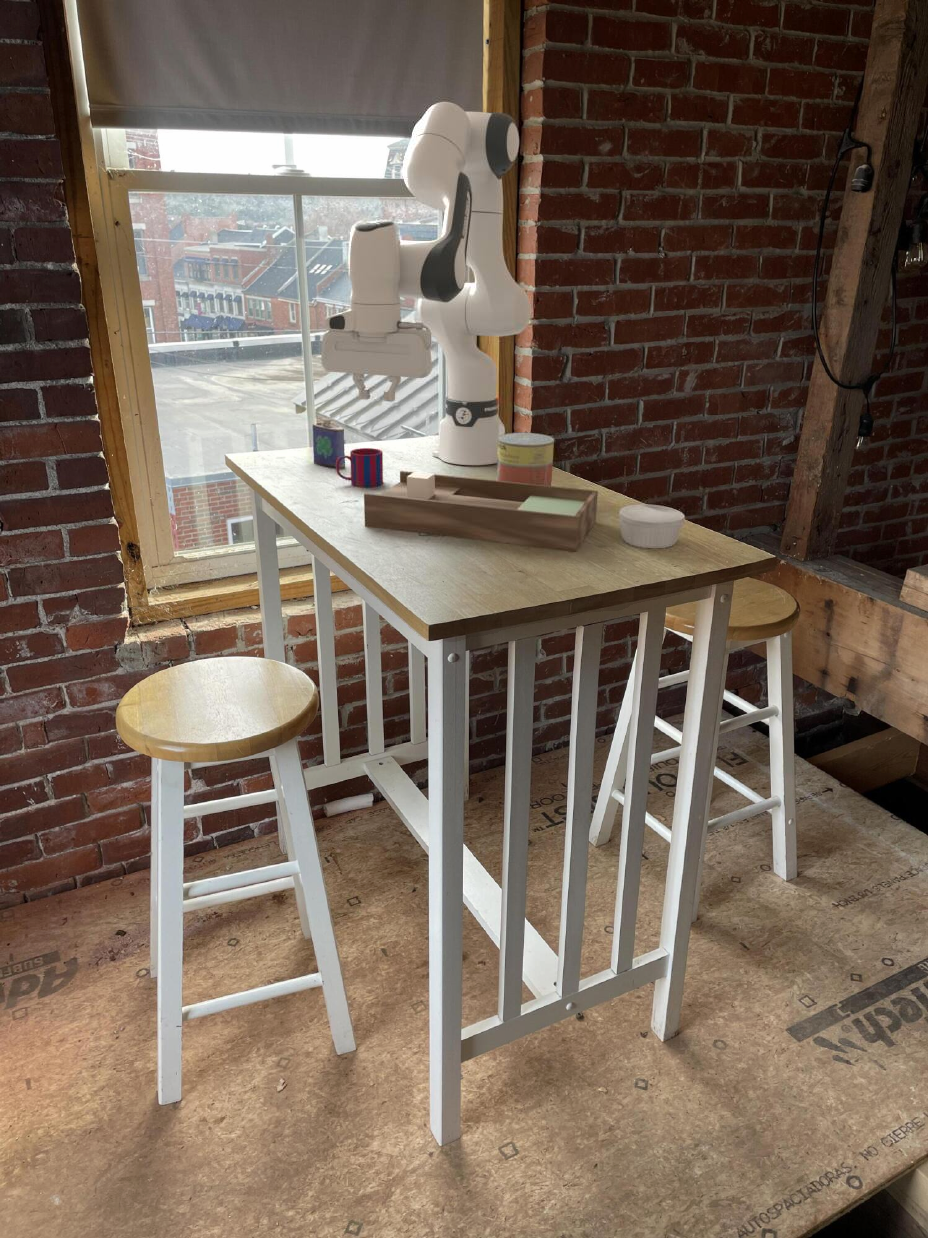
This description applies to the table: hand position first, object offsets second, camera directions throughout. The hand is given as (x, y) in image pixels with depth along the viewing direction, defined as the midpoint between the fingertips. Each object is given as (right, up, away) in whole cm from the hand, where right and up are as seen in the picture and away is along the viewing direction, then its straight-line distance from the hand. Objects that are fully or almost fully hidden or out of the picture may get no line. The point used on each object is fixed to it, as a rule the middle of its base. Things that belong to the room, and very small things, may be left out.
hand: (377, 399), depth 165 cm
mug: (-6, -11, +27) cm, 30 cm away
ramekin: (+49, -26, -4) cm, 55 cm away
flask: (-15, -5, +41) cm, 44 cm away
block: (+8, -17, +4) cm, 19 cm away
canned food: (+28, -15, +20) cm, 38 cm away
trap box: (+19, -22, +3) cm, 29 cm away
